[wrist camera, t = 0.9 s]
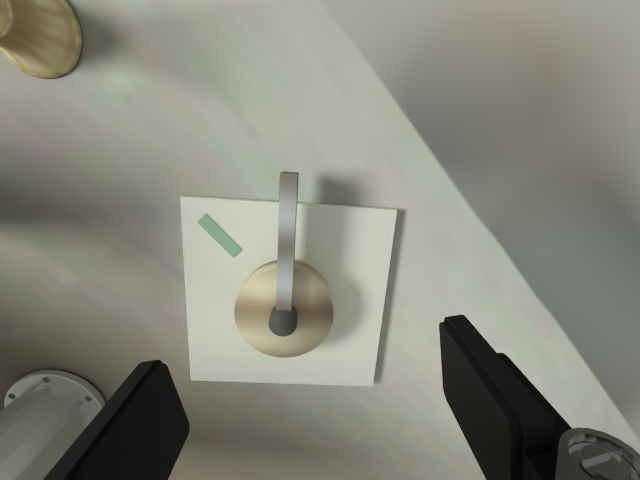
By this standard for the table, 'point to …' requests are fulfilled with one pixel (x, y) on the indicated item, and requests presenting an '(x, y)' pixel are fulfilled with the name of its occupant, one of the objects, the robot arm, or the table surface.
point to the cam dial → (285, 293)
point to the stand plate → (262, 247)
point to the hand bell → (40, 36)
